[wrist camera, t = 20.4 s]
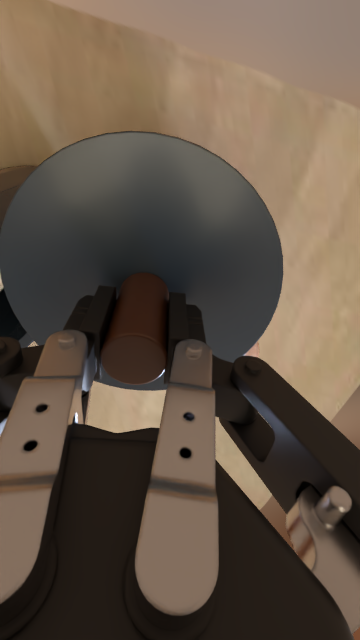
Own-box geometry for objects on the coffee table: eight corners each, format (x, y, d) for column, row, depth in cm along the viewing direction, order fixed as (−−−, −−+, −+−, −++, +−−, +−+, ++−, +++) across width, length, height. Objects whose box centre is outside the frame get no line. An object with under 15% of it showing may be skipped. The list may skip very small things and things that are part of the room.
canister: (-3, 269, 38) (-109, 354, 24) (-29, 156, 31) (-200, 182, 17) (97, 280, 39) (52, 368, 25) (93, 172, 32) (28, 210, 18)
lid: (33, 369, 19) (-20, 462, 14) (-22, 107, 11) (-184, 92, 6) (242, 383, 20) (267, 474, 15) (316, 153, 12) (418, 174, 7)
